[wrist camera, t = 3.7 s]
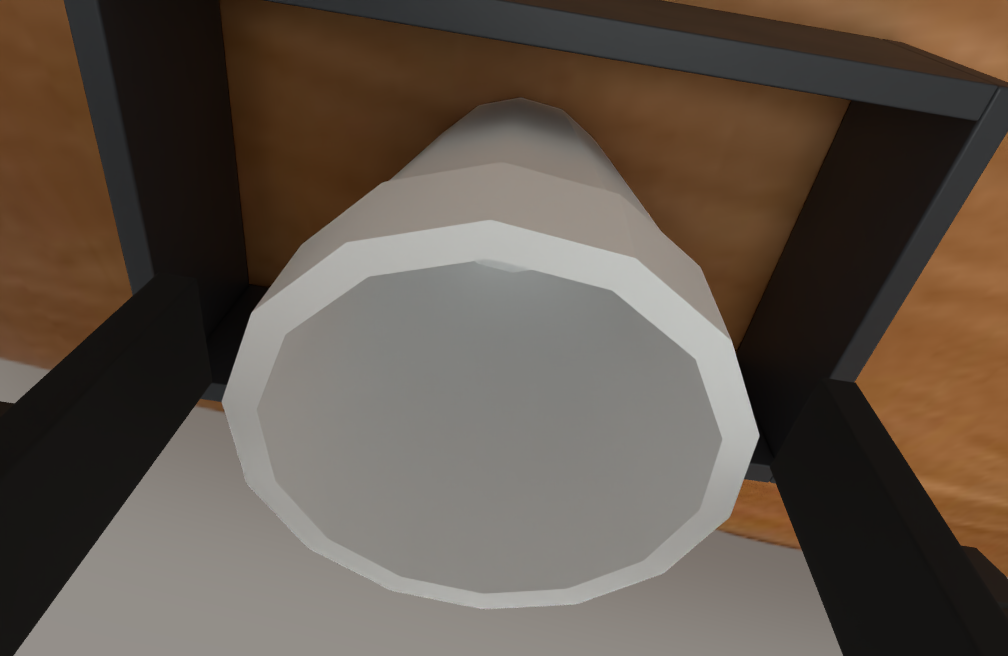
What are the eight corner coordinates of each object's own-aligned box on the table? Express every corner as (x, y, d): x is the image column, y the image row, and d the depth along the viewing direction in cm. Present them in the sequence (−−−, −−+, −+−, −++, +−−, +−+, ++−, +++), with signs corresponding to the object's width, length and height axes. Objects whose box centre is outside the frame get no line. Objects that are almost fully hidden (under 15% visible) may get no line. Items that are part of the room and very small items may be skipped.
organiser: (231, 297, 25) (154, 392, 20) (183, -83, 18) (43, -79, 13) (745, 376, 26) (791, 486, 21) (904, 42, 19) (1034, 91, 14)
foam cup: (368, 266, 24) (222, 556, 13) (406, 10, 19) (219, 147, 8) (599, 325, 25) (637, 640, 14) (697, 96, 20) (873, 321, 9)
